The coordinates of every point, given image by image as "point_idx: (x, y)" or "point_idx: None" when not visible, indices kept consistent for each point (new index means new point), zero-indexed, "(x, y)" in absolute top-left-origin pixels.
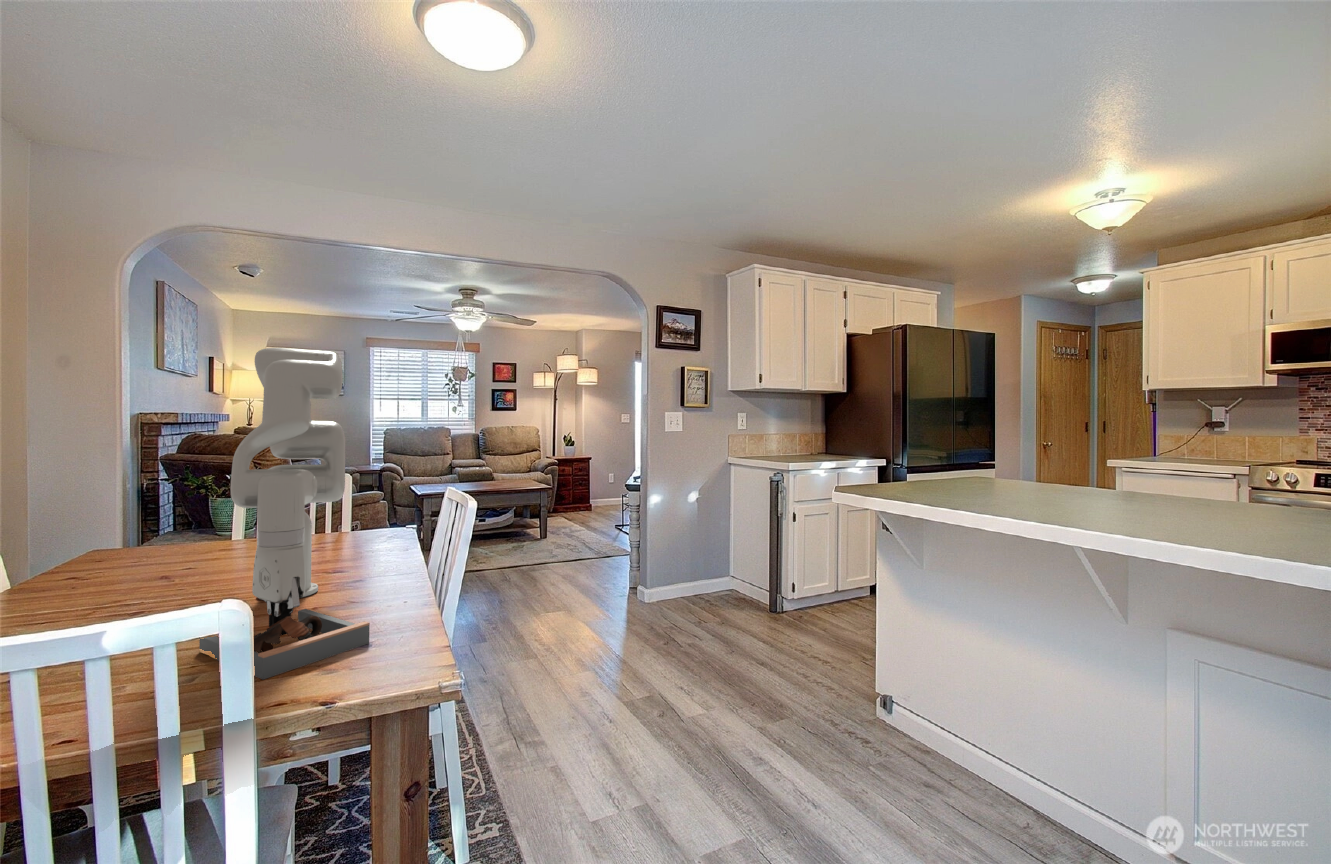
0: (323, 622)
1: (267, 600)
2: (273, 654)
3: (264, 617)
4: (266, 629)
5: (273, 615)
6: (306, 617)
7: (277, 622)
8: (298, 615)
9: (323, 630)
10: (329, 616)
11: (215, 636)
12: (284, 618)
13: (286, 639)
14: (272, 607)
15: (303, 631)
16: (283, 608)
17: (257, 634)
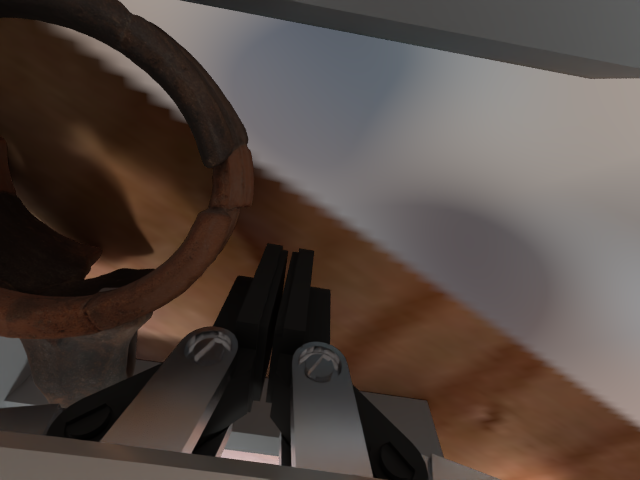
0: (257, 416)
1: (176, 458)
2: None
3: (621, 414)
4: (219, 215)
5: (281, 342)
6: (58, 382)
7: (155, 278)
8: (435, 438)
9: (263, 386)
10: (254, 450)
11: (585, 54)
12: (75, 311)
13: (334, 303)
14: (291, 402)
15: None
16: (104, 400)
17: (201, 135)
